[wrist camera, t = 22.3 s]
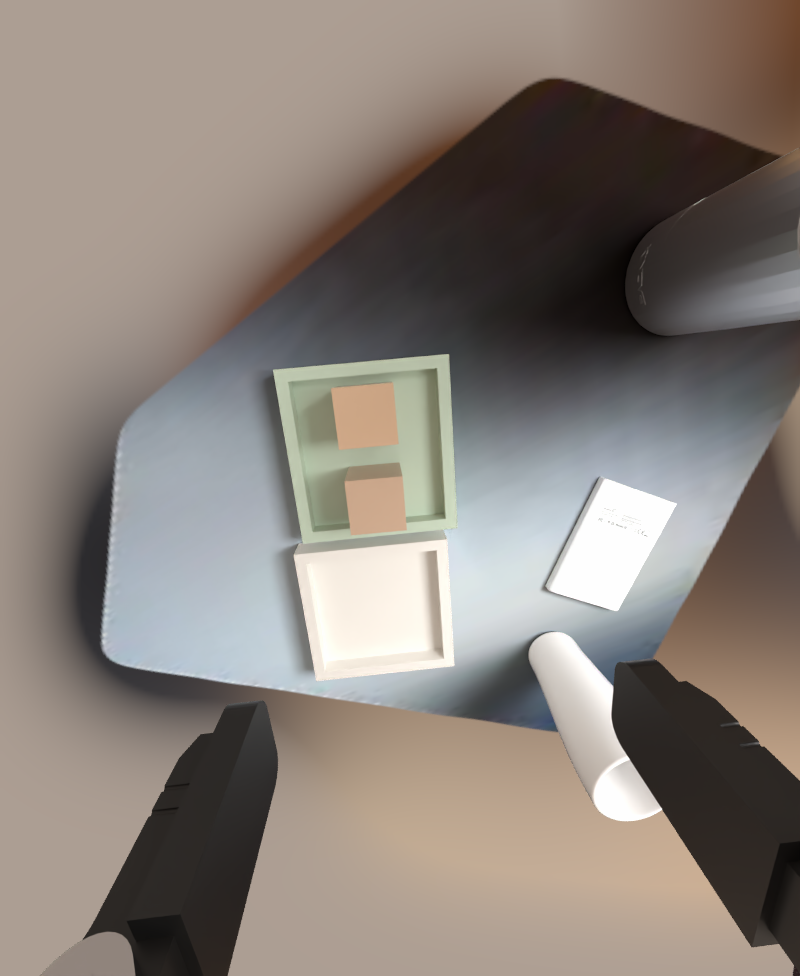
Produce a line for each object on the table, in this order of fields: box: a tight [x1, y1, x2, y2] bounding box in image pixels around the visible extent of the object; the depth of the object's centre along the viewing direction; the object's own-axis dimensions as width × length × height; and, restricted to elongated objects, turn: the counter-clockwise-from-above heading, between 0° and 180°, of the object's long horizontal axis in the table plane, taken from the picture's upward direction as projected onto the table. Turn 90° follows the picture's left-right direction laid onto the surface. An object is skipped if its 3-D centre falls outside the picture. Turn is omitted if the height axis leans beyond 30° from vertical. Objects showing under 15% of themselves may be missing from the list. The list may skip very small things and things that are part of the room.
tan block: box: [344, 462, 407, 535], centre depth 33 cm, size 4×4×5 cm
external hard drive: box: [545, 477, 676, 611], centre depth 39 cm, size 2×8×12 cm
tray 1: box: [273, 354, 457, 544], centre depth 34 cm, size 14×15×2 cm
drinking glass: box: [528, 632, 662, 821], centre depth 36 cm, size 7×7×15 cm
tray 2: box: [294, 530, 454, 681], centre depth 39 cm, size 14×14×2 cm
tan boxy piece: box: [331, 382, 399, 450], centre depth 31 cm, size 4×4×5 cm
